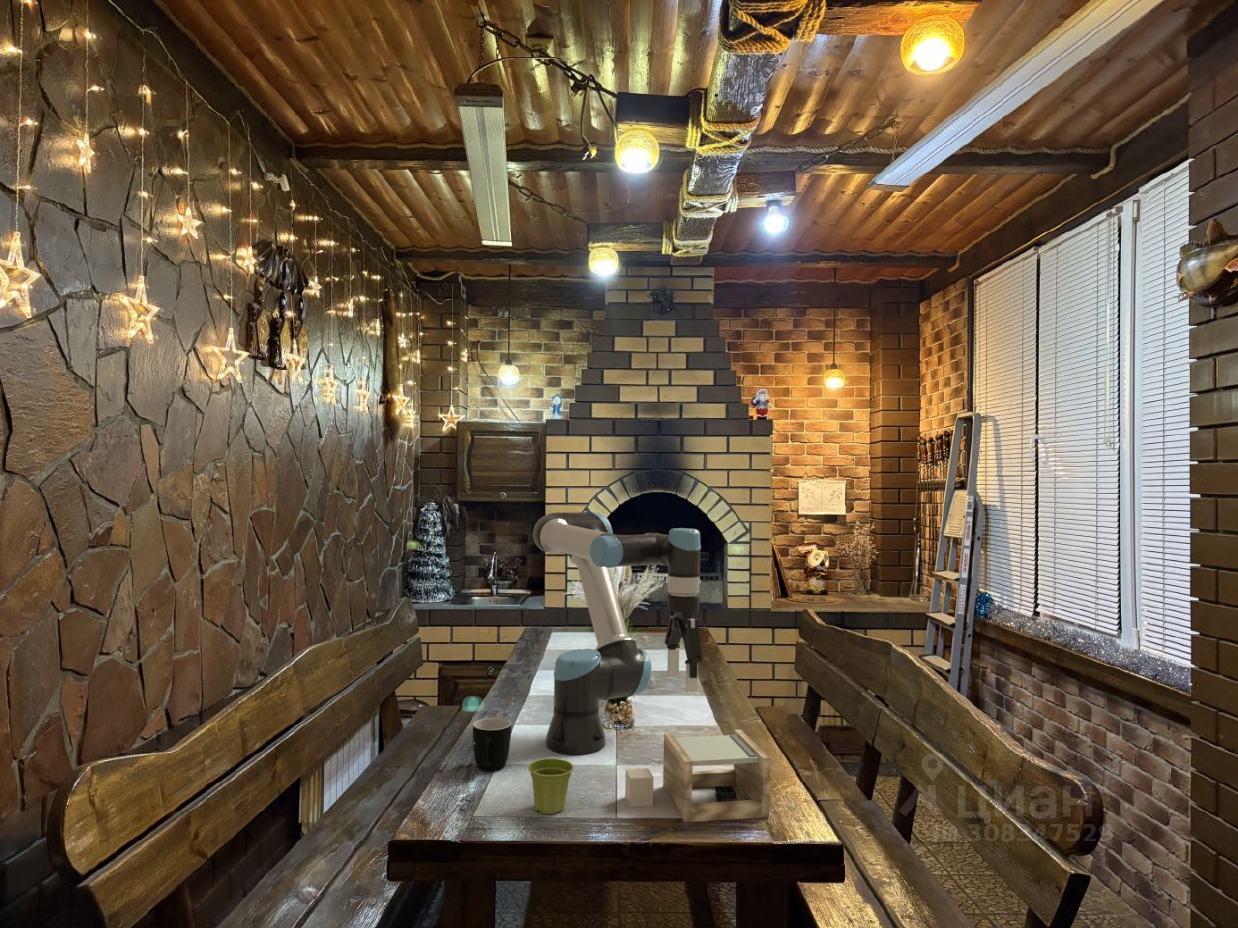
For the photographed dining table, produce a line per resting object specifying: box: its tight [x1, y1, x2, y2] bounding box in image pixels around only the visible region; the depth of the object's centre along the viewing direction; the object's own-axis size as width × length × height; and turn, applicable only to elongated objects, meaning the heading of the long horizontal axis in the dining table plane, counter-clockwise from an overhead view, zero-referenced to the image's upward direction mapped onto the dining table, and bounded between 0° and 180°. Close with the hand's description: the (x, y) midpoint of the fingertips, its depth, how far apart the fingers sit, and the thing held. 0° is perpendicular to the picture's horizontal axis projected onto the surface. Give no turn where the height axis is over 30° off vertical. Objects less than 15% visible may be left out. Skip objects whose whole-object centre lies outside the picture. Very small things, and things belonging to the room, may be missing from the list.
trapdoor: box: [675, 733, 758, 767], centre depth 166 cm, size 14×14×1 cm
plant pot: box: [528, 757, 575, 815], centre depth 160 cm, size 9×9×9 cm
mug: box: [472, 717, 512, 773], centre depth 181 cm, size 12×9×10 cm
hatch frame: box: [662, 728, 771, 823], centre depth 165 cm, size 18×18×12 cm
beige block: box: [624, 768, 654, 808], centre depth 165 cm, size 5×5×6 cm
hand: (681, 683), depth 183 cm, fingers open, 13 cm apart
